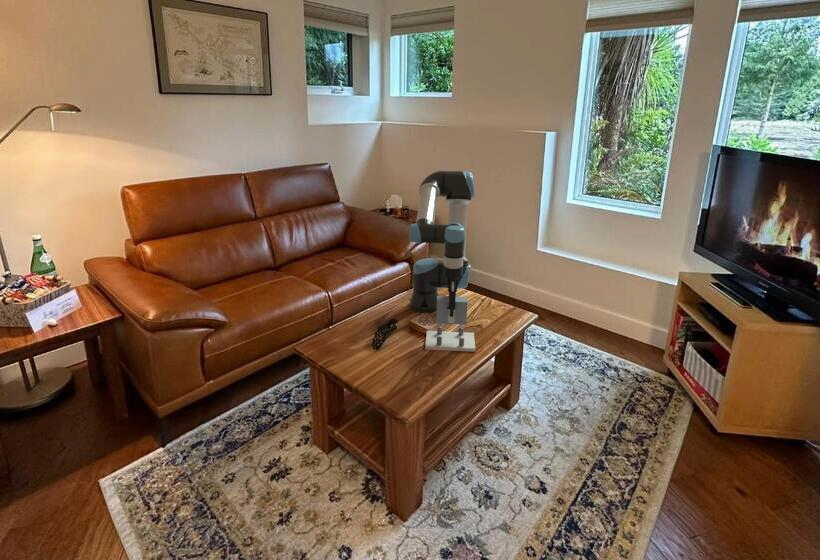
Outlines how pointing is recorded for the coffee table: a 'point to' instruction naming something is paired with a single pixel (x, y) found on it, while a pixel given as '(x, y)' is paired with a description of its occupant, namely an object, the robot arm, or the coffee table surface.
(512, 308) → the coffee table surface
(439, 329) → the pegboard
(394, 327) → the decorative element
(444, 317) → the slate block
